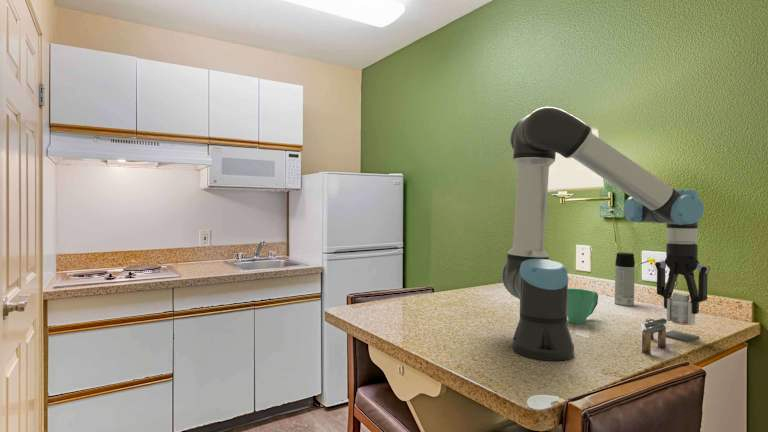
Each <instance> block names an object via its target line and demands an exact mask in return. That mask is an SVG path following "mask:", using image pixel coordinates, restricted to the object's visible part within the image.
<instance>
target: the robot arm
mask: <svg viewBox="0 0 768 432" xmlns="http://www.w3.org/2000/svg"><path fill="white" fill-rule="evenodd" d="M509 140H510V141H509V142H510V146H511V148H512V150H513V155H512V162H513V163H515V165H516V166H517V176H516V177H517V178H516V180H517V181H516V190H515V191H516V193H515V208H514V209H515V210H514V211H515V213H514V225H513V226H514V228H513V242H512V247H511V248H510V249H509V250H508V251H507V254H506V263H505V264H504V266H503V268H502V271H501V281H502V284H503V286H504V287H505V289H506V291H507V292H508V293H510V295H511V296H513V297H515V298H517V299H518V300H519V320H518V323H517V325H516V328H515V329H516V330H515V332H514V335H513V338H512V344H511V345H512V350H513V351H514V352H515V353H516V354H519V355H521V356H523V357H526V358H530V359H535V360H540V361H548V362H549V361H552V362H553V361H555V362H557V361H566V360H569V359H572V358H573V357H574V356H575V345H574V342H573V340H572V336H571V332H570V329H569V326H568V317H567V297H568V289H569V288H568V286H569V277H568V274H569V273H568V269H567V266H566V265H564V264H563V263H561V262H560V261H559V262H558V261H557V260H556V261H555V260H550V255H549V254H548V253H547V252H546V250H545V236H546V234H545V233H546V221H547V220H546V219H547V206H548V205H547V204H548V190H549V189H548V188H549V171H550V167H551V165H553V164H554V163H555V162H556V153H557V154H559V155H561V156H562V157H563V158H565V159H570V158H572V159H574V160H576V161H577V162H578V163H579V164H582V166H585V167H586V168H587V169H589V170H590V171H592V173H595V174H597V175H598V176H599V177H600V178H602V179H604V180H605V181H607V182H609V184H611V185H613V186H614V187H615V188H617V189H618V190H620V191H621V192H623V193H625V194H626V195H628V196H629V197H628V198H627V199H625V201H624V204H623V215H624V217H625V219H626V220H627V221H628V222H629V223H638V224H639V223H640V224H641V223H651V224H652V223H653V224H666V235H665V236H666V237H665V238H666V239H665V241H667V243H665V244H666V245H665V247H666V249H665V251H666V253H665V254H666V256H665V257H666V258H665V259H664V260H662V261H656V262H655V263H654V265H655V268H656V294H657V296H662V297H663V308H664V309H666V321H667V322H671V301H672V300H674V299H673V294H674V288H675V286H676V281H677V279H678V276H679V275H682V276H683V277H684V279H685V282H686V286H687V290H688V295H689V298H690V300H689V302H688V325H687V326H694V325H696V315H697V314H699V311H700V303H702V302H706V301H707V300H708V275H709V272H710V270H711V268H710V266H707V265H706V266H705V265H703V264H700V262H699V259H698V254H699V253H698V249H699V248H698V247H699V246H698V244H697V242H698V241H699V239H698V236H699V228H698V227H699V221H700V220H701V219H702V217H703V215H704V213H705V206H704V202H703V201H702V200H701V198H700V197H699V194H698V191H697V190H695V189H692V188H691V189H690V188H689V189H687V188H686V189H674V188H673V187H672V186H670V185H669V184H667V183H666V182H664V181H663V180H661V179H660V178H659V177H657V176H655V175H654V174H652V172H649V171H648V170H647V169H645V168H644V167H642V166H641V165H640V164H638V163H636V162H635V161H633V160H632V159H631V158H629V157H628V156H626V155H624V154H623V153H622V152H620V151H619V150H617V149H616V148H614V147H613V146H612V145H610V144H608V143H607V142H606V141H605V140H603V139H601V138H599V137H598V136H597V135H595V134H594V133H593V129H592V127H591V126H589V125H588V124H586V123H585V122H584V121H583V120H581V119H579V118H578V117H576V116H574V115H573V114H571V113H569V112H568V111H565V110H563V109H561V108H557V107H555V106H554V107H553V106H544V107H540V108H537V109H536V110H534V111H532V112H531V113H530V114H528V115H526V116H524V117H523V118H521V119H520V120H518V122H516V124H515V125H514V127H512V129H511V133H510V138H509ZM666 267H668V269H669V272H668V278H667V281H666ZM695 270H697V272H698V288H697V284H696V280H695V274H694V272H695Z"/></svg>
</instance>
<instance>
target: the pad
mask: <svg viewBox="0 0 768 432" xmlns="http://www.w3.org/2000/svg"><path fill="white" fill-rule="evenodd" d="M666 338H669V339H673V340H677V341H681V340H682V342H685V341H686V343H689V341H690V342H692V340H693V341H695V340H694V339H696V340H698V339H699V338H700V336H699V335H697V334H696V335H695V334H691V333H686V332H682V331H677V330H673V329H672V330H669V331H666ZM697 338H698V339H697Z"/></svg>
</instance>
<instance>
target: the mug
mask: <svg viewBox="0 0 768 432" xmlns="http://www.w3.org/2000/svg"><path fill="white" fill-rule="evenodd" d="M598 300H599V295H598V293H597V291H596V290H587V289H582V288H581V289H580V288H568V297H567V321H568V322H570V323H572V324H585V323H586V321H587V318H589V316H590V315H592V314H593V313H594V311H595V309H596V307H597V305H598Z"/></svg>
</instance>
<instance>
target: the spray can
mask: <svg viewBox="0 0 768 432" xmlns="http://www.w3.org/2000/svg"><path fill="white" fill-rule="evenodd" d="M614 265H615V269H614V304H615V305H617V306H618V305H619V306H624V307H628V306H629V307H631V306H634V304H635V279H636V278H635V276H636V274H635V272H636V271H635V270H636V268H635V266H636V262H635V254H634V253H633V252H616V257H615V264H614Z"/></svg>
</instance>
